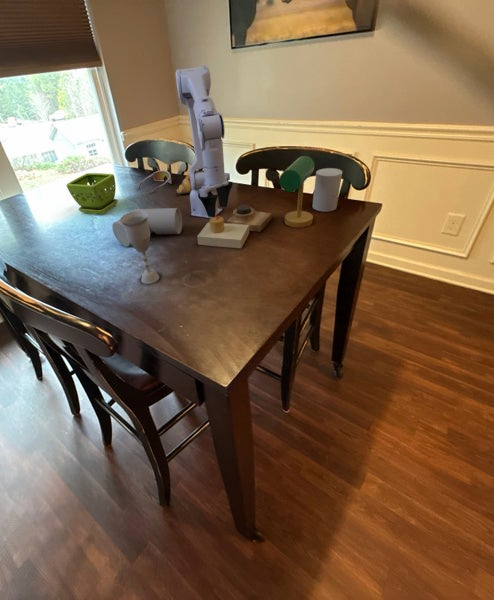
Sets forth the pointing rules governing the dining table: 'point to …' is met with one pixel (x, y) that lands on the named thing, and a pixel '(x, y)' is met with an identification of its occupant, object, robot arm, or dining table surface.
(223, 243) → the dimmer panel
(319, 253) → the dining table surface
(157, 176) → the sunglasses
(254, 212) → the switch box
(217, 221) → the dimmer knob
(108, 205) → the flower pot
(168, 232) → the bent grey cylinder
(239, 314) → the dining table surface
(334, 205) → the light grey upright cylinder
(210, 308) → the dining table surface
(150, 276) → the chalice
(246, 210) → the button
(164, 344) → the dining table surface
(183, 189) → the croissant
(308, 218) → the bracelet display stand
